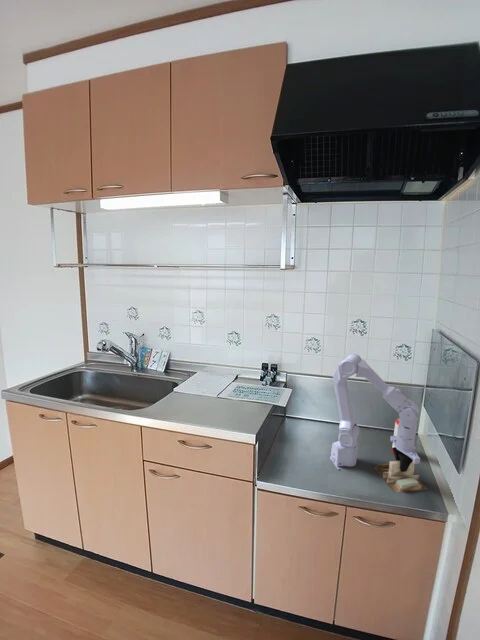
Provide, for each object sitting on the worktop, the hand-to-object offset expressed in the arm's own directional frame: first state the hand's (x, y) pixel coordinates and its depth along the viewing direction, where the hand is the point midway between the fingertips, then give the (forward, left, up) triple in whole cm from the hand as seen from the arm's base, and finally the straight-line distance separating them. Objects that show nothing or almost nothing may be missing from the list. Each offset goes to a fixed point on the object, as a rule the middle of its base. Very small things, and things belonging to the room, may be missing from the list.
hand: (401, 469), depth 122 cm
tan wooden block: (0, 0, -4) cm, 4 cm away
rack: (0, +1, -5) cm, 5 cm away
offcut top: (-1, -4, -3) cm, 5 cm away
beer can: (+10, +16, -5) cm, 19 cm away
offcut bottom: (0, -4, -4) cm, 6 cm away
